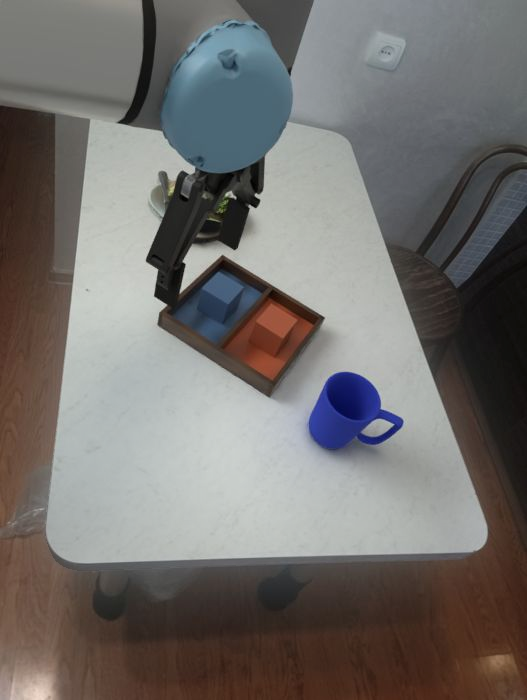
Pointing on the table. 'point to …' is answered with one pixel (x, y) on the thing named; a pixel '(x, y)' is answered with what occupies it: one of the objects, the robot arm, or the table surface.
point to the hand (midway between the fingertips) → (198, 270)
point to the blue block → (220, 297)
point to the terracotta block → (272, 330)
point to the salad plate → (213, 223)
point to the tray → (241, 327)
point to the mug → (348, 412)
